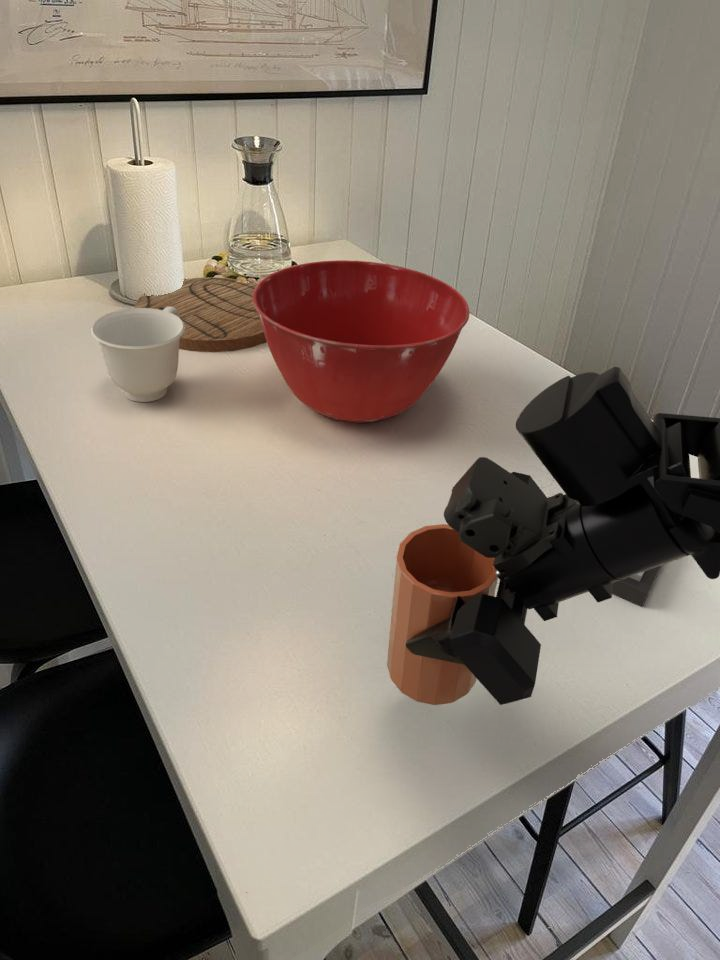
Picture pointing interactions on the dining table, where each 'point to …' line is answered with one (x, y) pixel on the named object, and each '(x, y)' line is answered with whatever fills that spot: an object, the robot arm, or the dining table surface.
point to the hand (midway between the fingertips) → (421, 611)
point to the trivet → (213, 314)
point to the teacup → (140, 349)
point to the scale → (635, 586)
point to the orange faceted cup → (433, 609)
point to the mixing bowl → (358, 334)
